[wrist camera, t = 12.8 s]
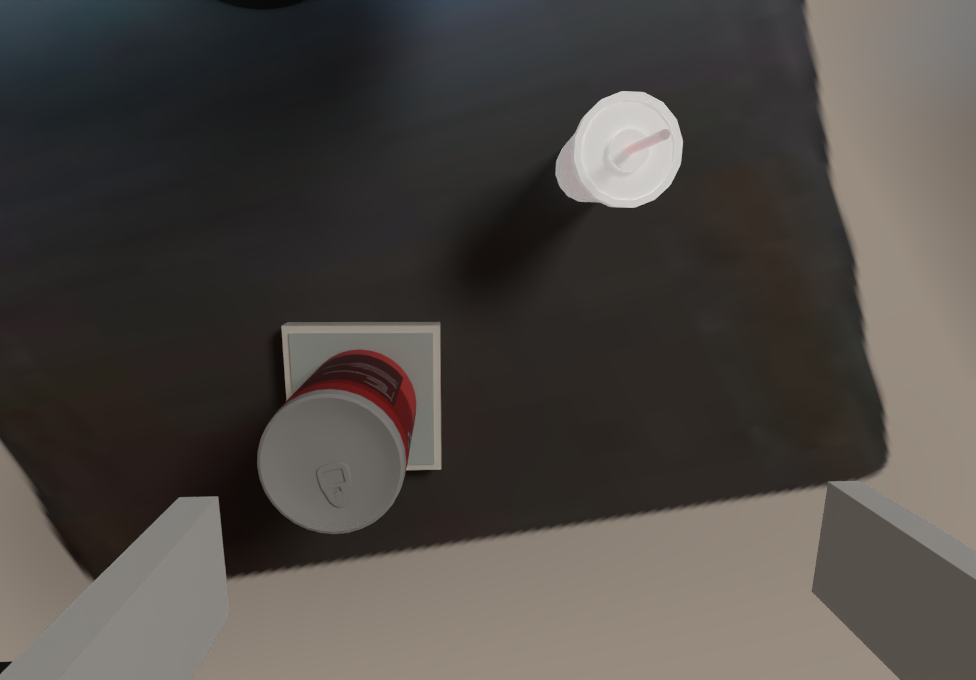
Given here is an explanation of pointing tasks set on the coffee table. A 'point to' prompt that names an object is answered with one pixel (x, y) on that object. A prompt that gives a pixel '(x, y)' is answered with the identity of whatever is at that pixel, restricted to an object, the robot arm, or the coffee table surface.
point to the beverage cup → (621, 152)
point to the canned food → (340, 444)
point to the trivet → (397, 341)
